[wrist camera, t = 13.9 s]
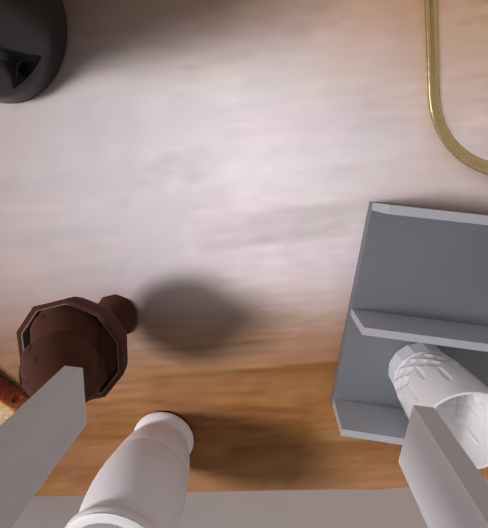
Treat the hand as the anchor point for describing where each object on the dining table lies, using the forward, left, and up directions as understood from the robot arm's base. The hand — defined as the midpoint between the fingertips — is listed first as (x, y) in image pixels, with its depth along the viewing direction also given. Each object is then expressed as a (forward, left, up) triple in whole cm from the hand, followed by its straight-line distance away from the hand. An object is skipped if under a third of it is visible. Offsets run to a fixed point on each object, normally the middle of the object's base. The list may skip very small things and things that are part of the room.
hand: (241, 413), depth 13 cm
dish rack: (+4, +19, -25) cm, 32 cm away
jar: (+26, -10, -25) cm, 38 cm away
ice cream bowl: (+9, -17, -25) cm, 32 cm away
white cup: (+10, +19, -24) cm, 32 cm away
